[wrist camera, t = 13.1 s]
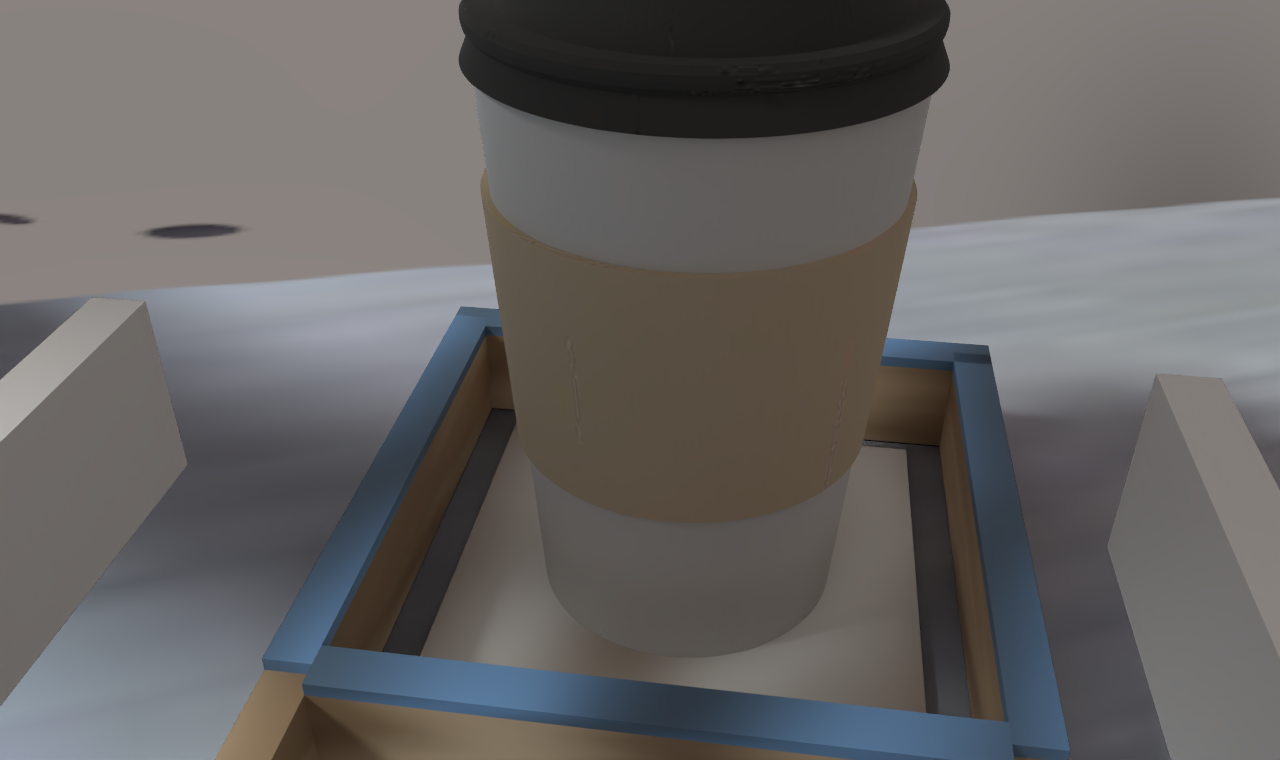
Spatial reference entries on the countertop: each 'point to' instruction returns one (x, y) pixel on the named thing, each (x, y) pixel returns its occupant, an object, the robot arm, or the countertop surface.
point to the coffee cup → (696, 286)
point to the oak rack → (647, 683)
